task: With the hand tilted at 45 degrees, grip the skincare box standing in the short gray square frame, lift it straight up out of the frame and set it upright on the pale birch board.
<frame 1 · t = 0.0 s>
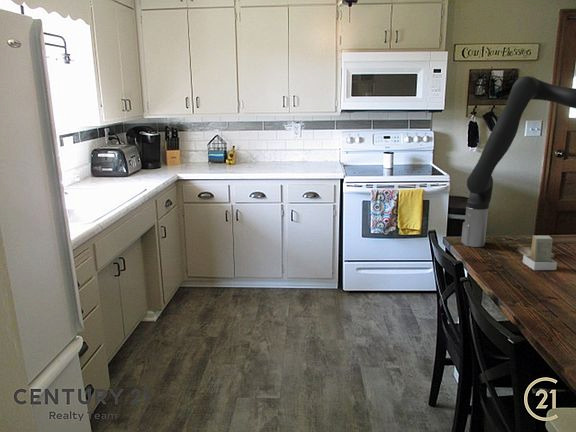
skincare box: (538, 266, 194), resting in gray square frame
birch board: (535, 254, 207), on the table
gray square frame: (538, 265, 194), on the table
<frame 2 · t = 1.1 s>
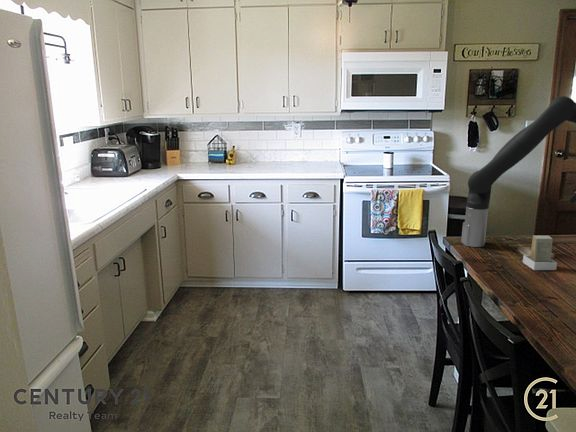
nothing on the table moved.
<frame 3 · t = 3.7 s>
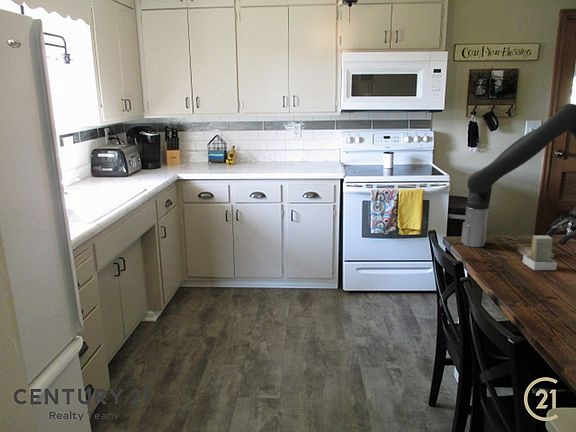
hand: (553, 240, 191), 11 cm above the table, tool tilted 45°, fingers open, 8 cm apart
nothing on the table moved.
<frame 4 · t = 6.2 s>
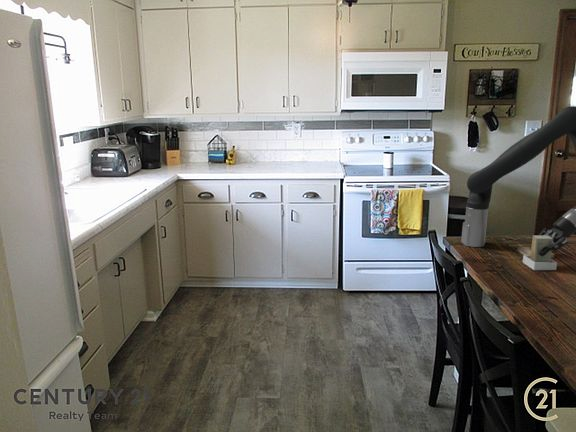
hand: (536, 252, 192), 6 cm above the table, tool tilted 45°, fingers closed on skincare box, 5 cm apart
skincare box: (538, 266, 194), resting in gray square frame, touching gripper
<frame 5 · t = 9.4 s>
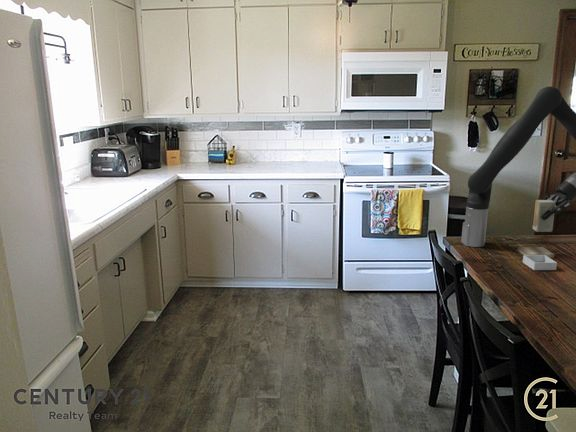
hand: (539, 216, 194), 19 cm above the table, tool tilted 45°, fingers closed on skincare box, 4 cm apart
skincare box: (541, 230, 195), point 13 cm above the table, touching gripper
when the fingers open (8 cm above the table, at t = 12.9 s): skincare box drops 1 cm, resting on birch board.
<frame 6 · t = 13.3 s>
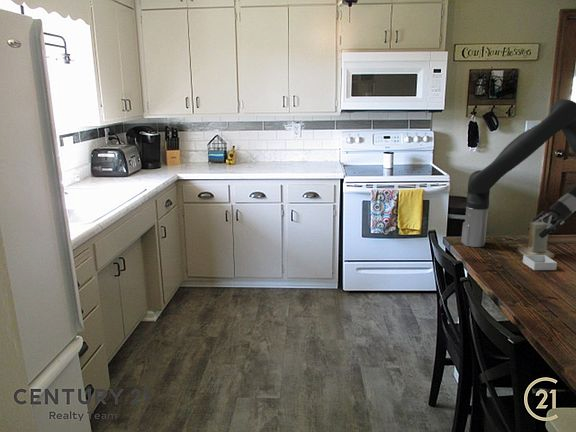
hand: (534, 233, 205), 9 cm above the table, tool tilted 45°, fingers open, 8 cm apart
skincare box: (536, 251, 207), point 1 cm above the table, touching birch board
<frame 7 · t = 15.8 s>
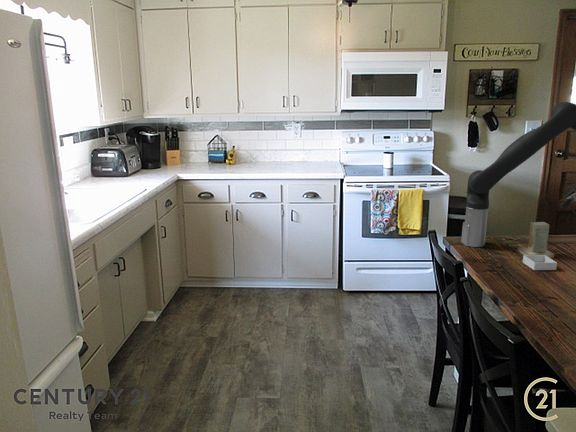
hand: (568, 209, 203), 19 cm above the table, tool tilted 45°, fingers open, 8 cm apart
nothing on the table moved.
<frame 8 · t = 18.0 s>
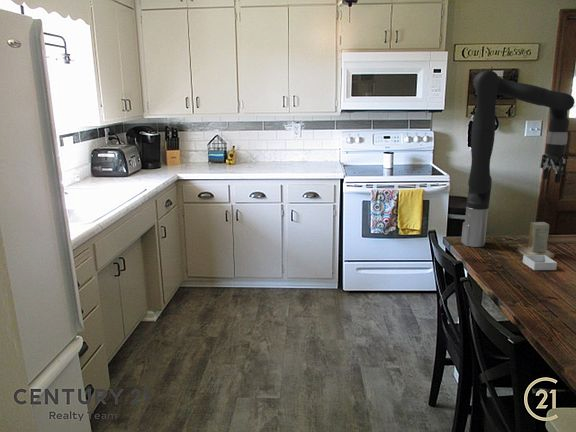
hand: (550, 180, 208), 30 cm above the table, tool pointing down, fingers open, 8 cm apart
nothing on the table moved.
at the end: skincare box inside the target area on the birch board (0.2 cm from its centre), point 1.3 cm above the birch board's base; skincare box tilted 0°; the gripper is holding nothing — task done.
